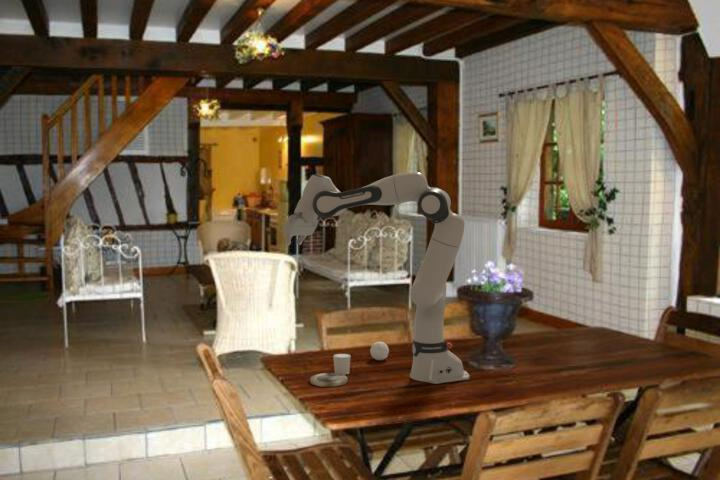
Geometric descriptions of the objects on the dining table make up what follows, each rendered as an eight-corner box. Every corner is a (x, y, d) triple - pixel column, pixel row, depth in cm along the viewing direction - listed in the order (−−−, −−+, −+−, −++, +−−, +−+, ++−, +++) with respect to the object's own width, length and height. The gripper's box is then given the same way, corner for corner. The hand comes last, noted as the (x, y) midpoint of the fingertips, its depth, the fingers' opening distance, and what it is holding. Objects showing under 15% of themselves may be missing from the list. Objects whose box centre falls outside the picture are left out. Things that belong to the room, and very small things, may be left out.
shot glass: (348, 375, 275) (348, 358, 274) (331, 375, 276) (331, 357, 276) (352, 371, 282) (352, 353, 281) (335, 370, 283) (335, 352, 282)
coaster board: (343, 375, 276) (343, 371, 276) (350, 385, 262) (350, 382, 262) (307, 377, 273) (307, 374, 273) (313, 388, 260) (313, 384, 259)
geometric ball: (376, 367, 297) (365, 353, 295) (378, 355, 304) (368, 342, 302) (391, 359, 294) (380, 345, 292) (393, 348, 301) (382, 334, 299)
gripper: (300, 215, 269) (286, 248, 272) (323, 216, 288) (310, 247, 290) (286, 208, 271) (273, 241, 274) (311, 209, 290) (298, 240, 293)
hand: (292, 244), depth 282 cm, fingers open, 8 cm apart
